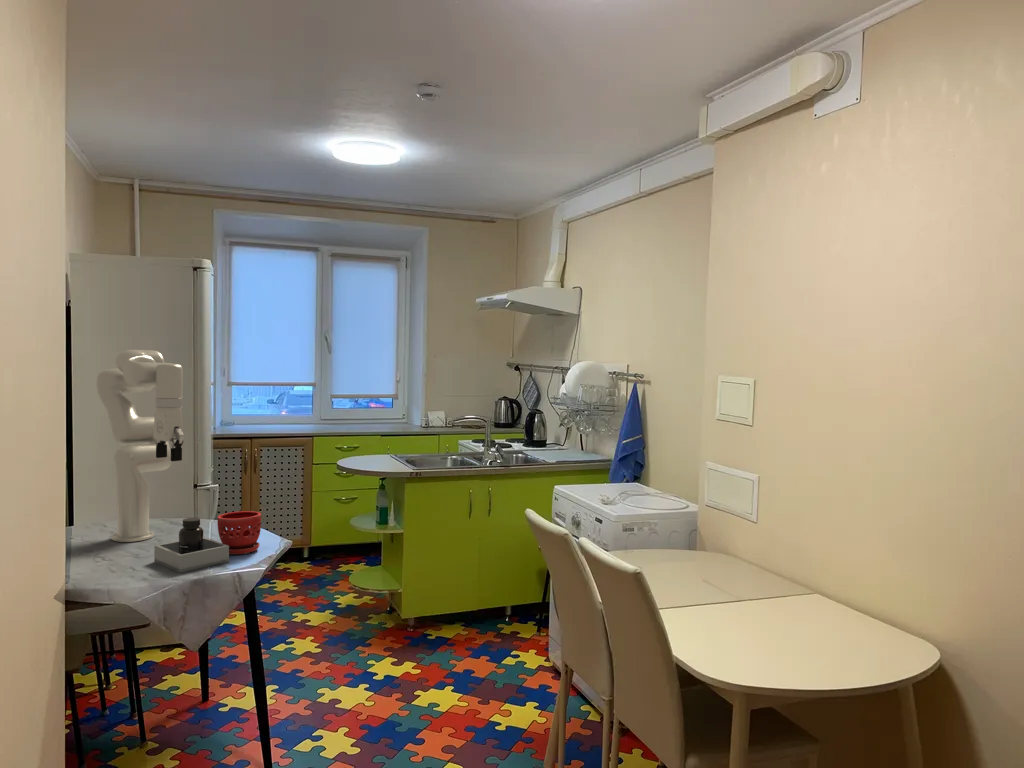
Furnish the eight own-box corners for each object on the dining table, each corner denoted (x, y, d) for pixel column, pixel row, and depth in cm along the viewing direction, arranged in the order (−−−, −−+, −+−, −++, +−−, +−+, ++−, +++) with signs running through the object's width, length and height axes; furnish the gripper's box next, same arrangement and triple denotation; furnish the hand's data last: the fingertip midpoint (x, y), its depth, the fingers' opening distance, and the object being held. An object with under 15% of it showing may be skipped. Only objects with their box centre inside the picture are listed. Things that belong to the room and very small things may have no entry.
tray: (154, 561, 212) (154, 545, 212) (202, 552, 223) (202, 536, 223) (179, 573, 202) (179, 555, 202) (228, 562, 213) (229, 545, 213)
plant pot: (267, 546, 232) (267, 510, 232) (251, 557, 219) (251, 519, 218) (228, 545, 232) (228, 509, 232) (209, 556, 219) (210, 518, 219)
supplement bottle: (177, 562, 208) (177, 522, 208) (179, 556, 215) (179, 517, 214) (202, 560, 211) (202, 521, 210) (204, 554, 217) (204, 516, 216)
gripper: (144, 402, 219) (143, 457, 219) (169, 406, 208) (169, 463, 209) (168, 401, 225) (168, 455, 225) (194, 405, 214) (194, 461, 214)
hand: (168, 459), depth 217 cm, fingers open, 9 cm apart
